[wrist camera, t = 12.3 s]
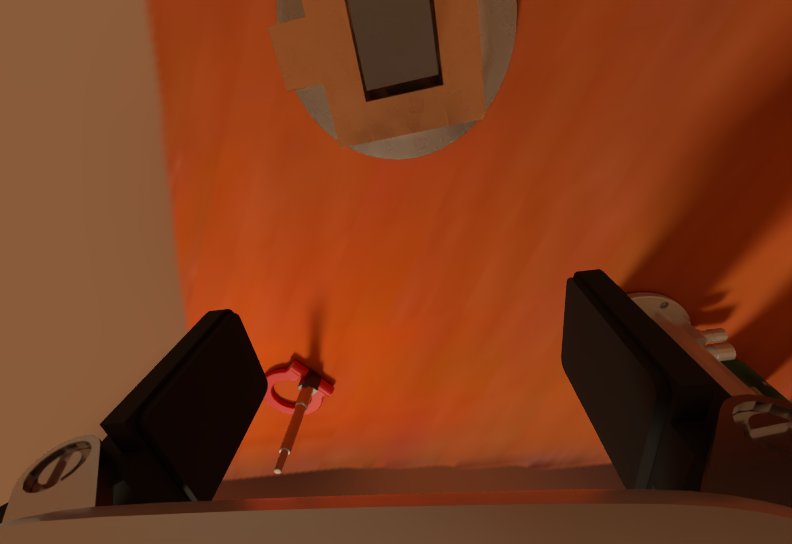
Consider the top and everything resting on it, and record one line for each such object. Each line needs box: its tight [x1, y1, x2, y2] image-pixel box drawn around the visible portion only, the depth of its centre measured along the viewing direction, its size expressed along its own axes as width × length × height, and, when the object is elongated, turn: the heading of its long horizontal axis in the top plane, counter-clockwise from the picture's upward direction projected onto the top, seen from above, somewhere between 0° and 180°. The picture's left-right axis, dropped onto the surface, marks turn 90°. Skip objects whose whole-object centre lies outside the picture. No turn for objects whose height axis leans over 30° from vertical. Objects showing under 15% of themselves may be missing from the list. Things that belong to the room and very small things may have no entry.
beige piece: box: [267, 0, 517, 159], centre depth 25 cm, size 18×18×6 cm
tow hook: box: [264, 360, 334, 474], centre depth 42 cm, size 8×13×9 cm
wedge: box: [348, 0, 438, 91], centre depth 22 cm, size 4×6×10 cm, turn 11°
